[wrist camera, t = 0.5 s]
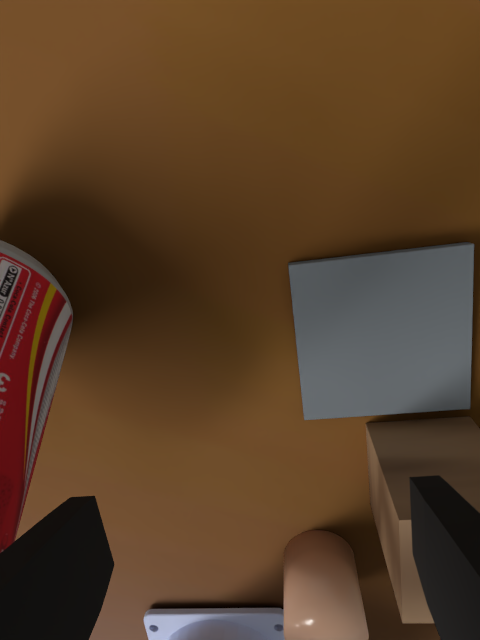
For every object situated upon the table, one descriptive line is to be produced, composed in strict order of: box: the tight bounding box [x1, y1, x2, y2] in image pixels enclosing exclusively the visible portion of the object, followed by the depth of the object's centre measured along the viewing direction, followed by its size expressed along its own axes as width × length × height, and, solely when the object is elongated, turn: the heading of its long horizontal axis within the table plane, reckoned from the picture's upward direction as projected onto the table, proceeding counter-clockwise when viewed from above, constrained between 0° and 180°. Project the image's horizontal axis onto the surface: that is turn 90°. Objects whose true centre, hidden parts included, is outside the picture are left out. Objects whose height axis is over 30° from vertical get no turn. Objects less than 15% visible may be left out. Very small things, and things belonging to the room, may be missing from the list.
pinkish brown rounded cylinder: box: [284, 530, 369, 640], centre depth 20 cm, size 4×4×4 cm
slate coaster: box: [288, 242, 474, 420], centre depth 18 cm, size 7×7×1 cm
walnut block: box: [366, 416, 480, 623], centre depth 17 cm, size 4×4×6 cm
